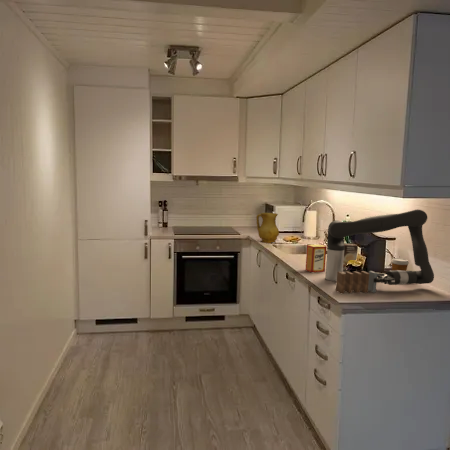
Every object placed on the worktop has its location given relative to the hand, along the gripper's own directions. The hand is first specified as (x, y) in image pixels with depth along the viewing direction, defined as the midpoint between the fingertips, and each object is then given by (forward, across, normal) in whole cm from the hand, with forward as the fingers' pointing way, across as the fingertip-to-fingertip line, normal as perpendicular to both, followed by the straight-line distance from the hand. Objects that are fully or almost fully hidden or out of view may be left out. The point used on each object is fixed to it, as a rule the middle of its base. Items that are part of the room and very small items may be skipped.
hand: (369, 278), depth 221 cm
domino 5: (-2, 0, +7) cm, 7 cm away
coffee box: (-15, -47, +7) cm, 50 cm away
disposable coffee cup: (-32, -20, +7) cm, 38 cm away
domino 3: (+7, 0, +7) cm, 10 cm away
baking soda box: (+8, -45, +7) cm, 46 cm away
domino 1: (+16, 0, +7) cm, 17 cm away
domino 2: (+12, 0, +7) cm, 13 cm away
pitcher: (+1, -151, +7) cm, 151 cm away
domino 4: (+3, 0, +7) cm, 7 cm away
